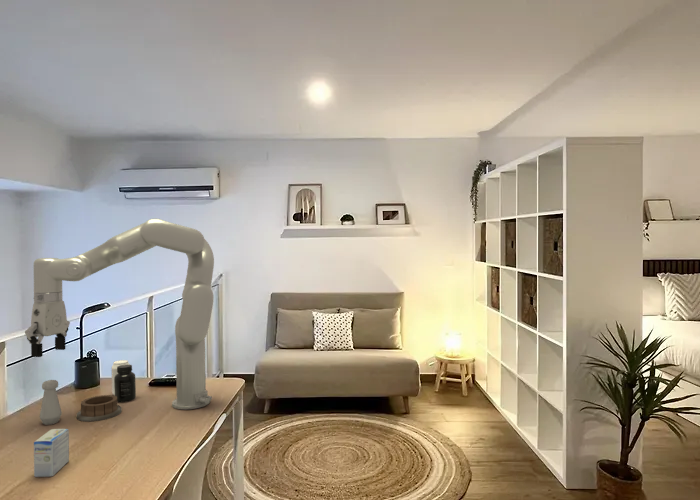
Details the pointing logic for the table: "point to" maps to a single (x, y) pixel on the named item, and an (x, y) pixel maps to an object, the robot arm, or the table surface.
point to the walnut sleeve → (99, 408)
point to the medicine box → (51, 452)
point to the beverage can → (114, 371)
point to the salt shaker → (50, 403)
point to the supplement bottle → (125, 384)
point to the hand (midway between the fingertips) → (48, 353)
